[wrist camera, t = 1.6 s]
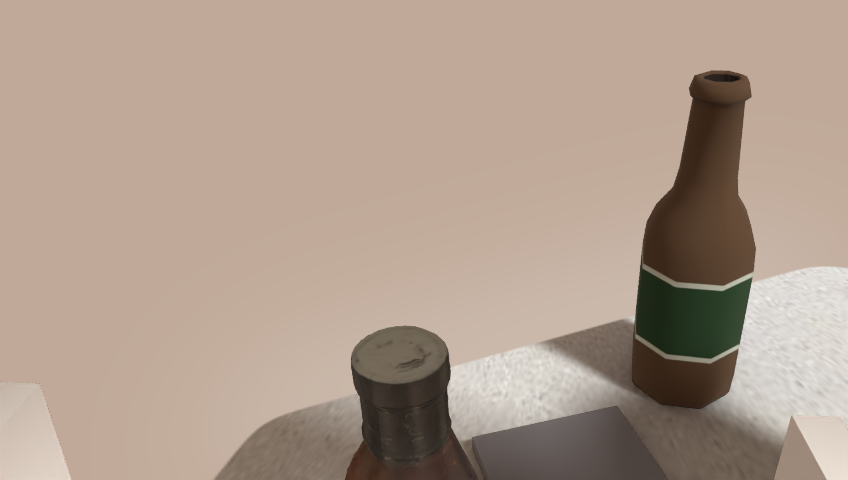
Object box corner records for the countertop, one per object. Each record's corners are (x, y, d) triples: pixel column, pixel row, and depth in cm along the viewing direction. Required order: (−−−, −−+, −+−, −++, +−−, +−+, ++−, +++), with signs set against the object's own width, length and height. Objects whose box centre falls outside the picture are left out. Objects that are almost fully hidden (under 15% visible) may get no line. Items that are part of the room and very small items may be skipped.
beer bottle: (612, 353, 59) (636, 65, 48) (702, 341, 60) (747, 54, 48) (651, 419, 53) (691, 102, 41) (752, 404, 53) (819, 88, 42)
